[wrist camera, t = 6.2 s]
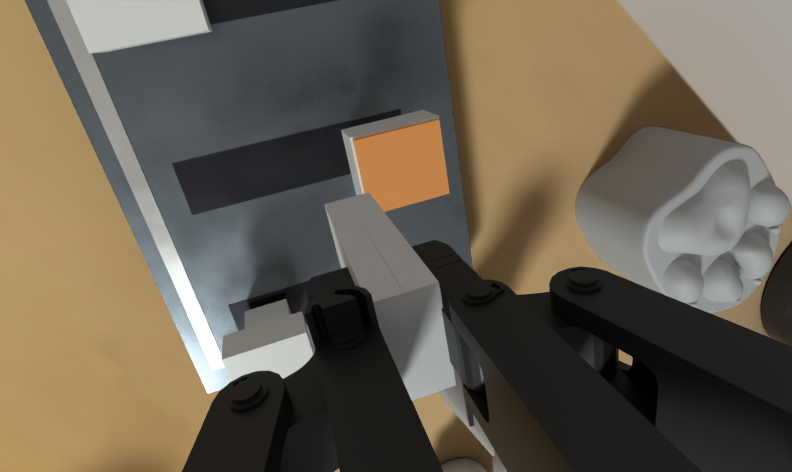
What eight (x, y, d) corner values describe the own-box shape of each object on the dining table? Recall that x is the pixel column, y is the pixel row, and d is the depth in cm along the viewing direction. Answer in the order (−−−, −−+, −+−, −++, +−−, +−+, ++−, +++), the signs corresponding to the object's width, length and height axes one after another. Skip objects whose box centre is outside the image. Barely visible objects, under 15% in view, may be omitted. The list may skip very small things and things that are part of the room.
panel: (395, -124, 25) (420, -152, 21) (454, 277, 35) (477, 304, 32) (25, -71, 22) (-20, -94, 18) (212, 354, 32) (207, 394, 29)
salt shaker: (414, 330, 36) (492, 465, 25) (482, 309, 37) (587, 429, 26) (424, 388, 39) (499, 535, 27) (487, 366, 40) (585, 499, 28)
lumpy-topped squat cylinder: (660, 107, 35) (776, 125, 28) (717, 217, 41) (825, 257, 33) (558, 204, 36) (644, 248, 28) (628, 299, 42) (715, 356, 34)
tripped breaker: (403, 102, 25) (441, 116, 20) (414, 166, 26) (452, 194, 22) (330, 119, 24) (350, 138, 19) (345, 184, 26) (368, 218, 21)
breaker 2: (296, 283, 27) (306, 332, 22) (311, 333, 28) (324, 389, 24) (225, 304, 26) (221, 360, 22) (245, 354, 28) (245, 416, 23)
